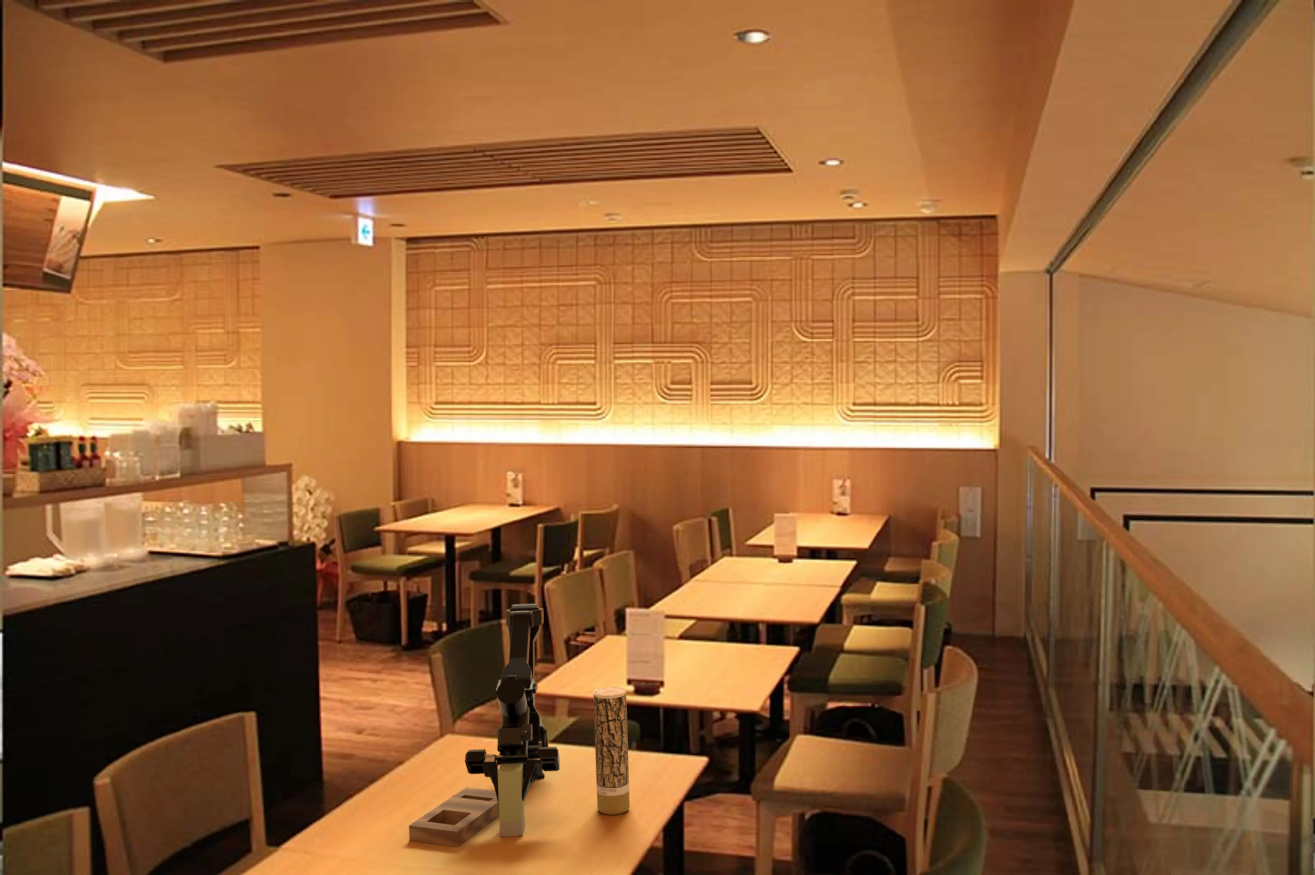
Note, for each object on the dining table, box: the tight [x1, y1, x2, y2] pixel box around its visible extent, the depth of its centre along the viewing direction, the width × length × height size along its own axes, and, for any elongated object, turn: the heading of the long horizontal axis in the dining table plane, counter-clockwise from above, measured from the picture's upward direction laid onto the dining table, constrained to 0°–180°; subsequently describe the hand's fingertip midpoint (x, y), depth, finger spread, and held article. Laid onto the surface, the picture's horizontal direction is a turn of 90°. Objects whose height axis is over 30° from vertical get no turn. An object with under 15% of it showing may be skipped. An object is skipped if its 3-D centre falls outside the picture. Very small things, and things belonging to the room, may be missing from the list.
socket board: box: [408, 786, 499, 848], centre depth 228 cm, size 22×11×3 cm, turn 159°
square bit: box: [498, 763, 526, 837], centre depth 222 cm, size 4×4×13 cm
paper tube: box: [593, 686, 631, 815], centre depth 232 cm, size 7×7×25 cm
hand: (510, 800), depth 221 cm, fingers closed on square bit, 4 cm apart
